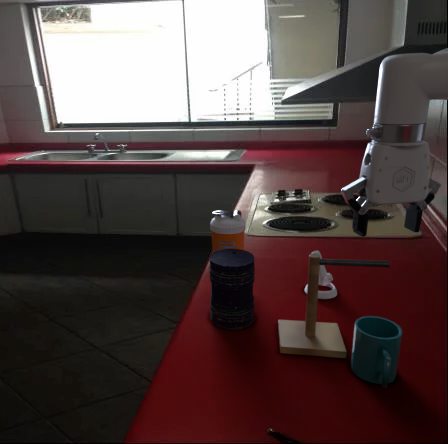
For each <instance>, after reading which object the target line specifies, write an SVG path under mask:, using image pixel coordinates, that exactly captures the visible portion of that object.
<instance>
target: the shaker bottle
mask: <svg viewBox="0 0 448 444" xmlns="http://www.w3.org/2000/svg"><path fill="white" fill-rule="evenodd" d="M212 215H214V217H213V218H211V221H210V223H209V225H210V231H211V233H210V234H211V243H212V244H211V246H212V253H213V252H216V251H218V250H223V249H240V250H244V247H245V231H246V229H247V227H246V223H247V222H246V220H245V219H244V218H243V213H242V211H241V210H239V209H235V210H234V211H231V210H220V209H219V210H218V209H217V210H214V211H212Z"/></svg>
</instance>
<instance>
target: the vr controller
mask: <svg viewBox="0 0 448 444" xmlns="http://www.w3.org/2000/svg"><path fill="white" fill-rule="evenodd" d="M311 254H319V255H320V259H323V257H322V254H321V252H320V251H319V250H314V251H312V252H311ZM333 280H334V277H333V275H332V274H331V273H330V272H327V269H326V265H320V271H319V286H323V287H327V288H330V289H331V290H318V299H320V300H330V299H331V300H332V299H334V298H336V297H337V296H338V290H337V288H336V286H335V284H333V283H332V281H333ZM307 286H308V283H307V284H306V285H305V288H304V292H305V294H306V295H307Z"/></svg>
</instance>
